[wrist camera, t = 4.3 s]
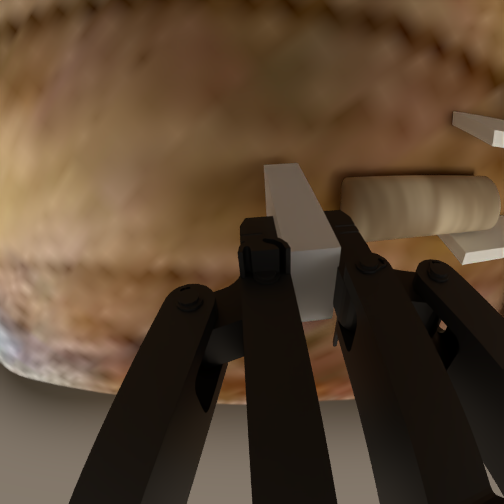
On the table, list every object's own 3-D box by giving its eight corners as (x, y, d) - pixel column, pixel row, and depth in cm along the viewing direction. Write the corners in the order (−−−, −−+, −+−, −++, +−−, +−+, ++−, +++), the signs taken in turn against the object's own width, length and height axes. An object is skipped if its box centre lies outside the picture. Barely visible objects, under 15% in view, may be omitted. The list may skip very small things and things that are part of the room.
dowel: (336, 189, 17) (345, 247, 16) (352, 167, 14) (364, 236, 13) (463, 185, 17) (474, 234, 16) (492, 168, 13) (505, 224, 13)
